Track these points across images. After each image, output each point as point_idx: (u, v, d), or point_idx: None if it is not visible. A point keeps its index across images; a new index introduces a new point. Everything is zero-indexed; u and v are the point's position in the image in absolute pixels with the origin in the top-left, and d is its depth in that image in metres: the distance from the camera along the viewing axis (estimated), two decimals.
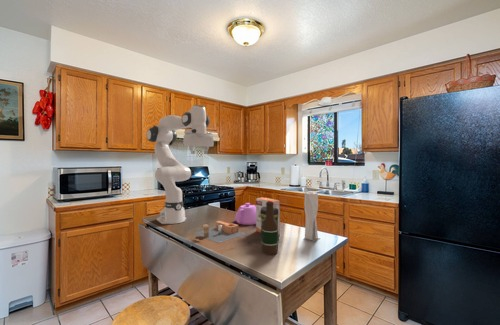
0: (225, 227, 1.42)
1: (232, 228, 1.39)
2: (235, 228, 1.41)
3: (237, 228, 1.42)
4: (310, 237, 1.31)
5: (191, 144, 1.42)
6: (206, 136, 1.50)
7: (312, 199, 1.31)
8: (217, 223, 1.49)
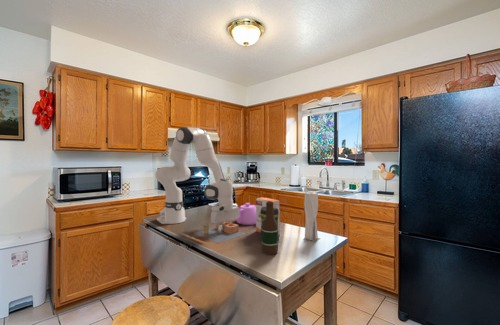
0: (225, 227, 1.42)
1: (232, 228, 1.39)
2: (235, 228, 1.41)
3: (237, 228, 1.42)
4: (310, 237, 1.31)
5: (219, 222, 1.40)
6: (233, 209, 1.48)
7: (312, 199, 1.31)
8: None
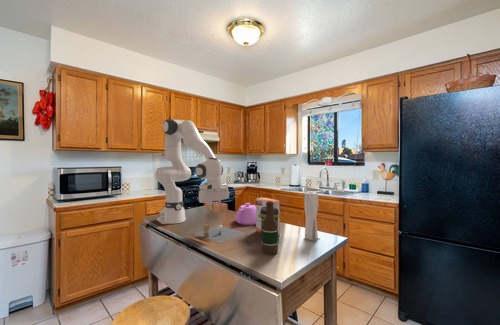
0: (214, 206, 1.37)
1: (221, 207, 1.35)
2: (224, 207, 1.37)
3: (226, 207, 1.38)
4: (310, 237, 1.31)
5: (207, 200, 1.36)
6: (222, 189, 1.44)
7: (312, 199, 1.31)
8: (206, 203, 1.45)
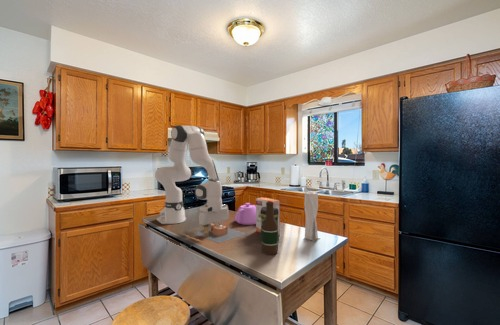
0: (213, 229, 1.38)
1: (220, 230, 1.35)
2: (224, 230, 1.37)
3: (226, 230, 1.38)
4: (310, 237, 1.31)
5: (207, 223, 1.36)
6: (222, 210, 1.44)
7: (312, 199, 1.31)
8: None
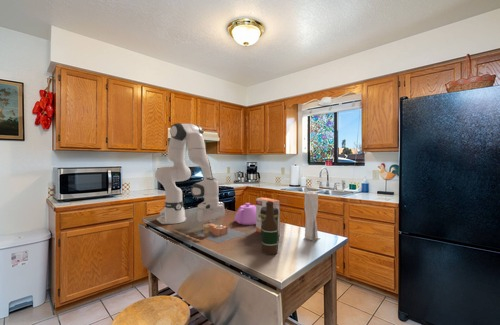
0: (213, 229, 1.38)
1: (220, 230, 1.35)
2: (224, 230, 1.37)
3: (226, 230, 1.38)
4: (310, 237, 1.31)
5: (205, 219, 1.43)
6: (218, 207, 1.52)
7: (312, 199, 1.31)
8: None
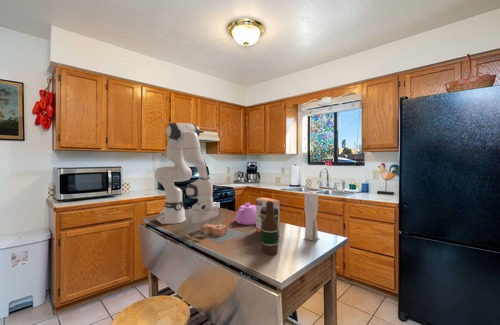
0: (213, 230, 1.36)
1: (222, 230, 1.35)
2: (224, 229, 1.37)
3: (226, 229, 1.38)
4: (310, 237, 1.31)
5: (200, 220, 1.39)
6: (213, 208, 1.48)
7: (312, 199, 1.31)
8: (202, 226, 1.42)
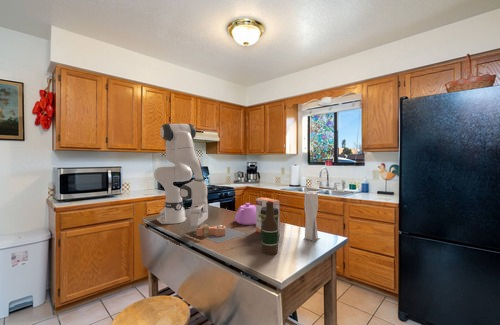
0: (216, 230, 1.35)
1: None
2: None
3: None
4: (310, 237, 1.31)
5: (199, 224, 1.33)
6: (205, 210, 1.44)
7: (312, 199, 1.31)
8: (200, 230, 1.36)
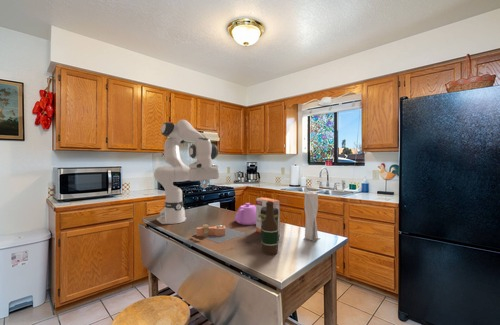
0: (216, 230, 1.35)
1: None
2: None
3: None
4: (310, 237, 1.31)
5: (196, 179, 1.39)
6: (212, 169, 1.47)
7: (312, 199, 1.31)
8: (200, 230, 1.36)
